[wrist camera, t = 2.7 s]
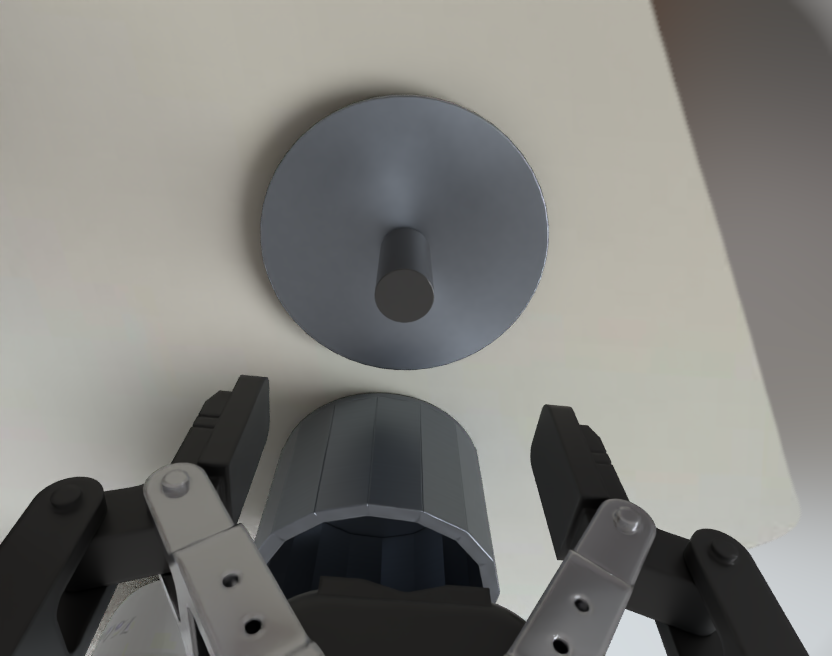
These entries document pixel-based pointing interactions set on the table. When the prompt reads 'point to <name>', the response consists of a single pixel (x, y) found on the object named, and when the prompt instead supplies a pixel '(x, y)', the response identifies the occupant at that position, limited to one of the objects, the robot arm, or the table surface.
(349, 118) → the lid
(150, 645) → the teacup
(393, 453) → the tin
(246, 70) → the table surface
